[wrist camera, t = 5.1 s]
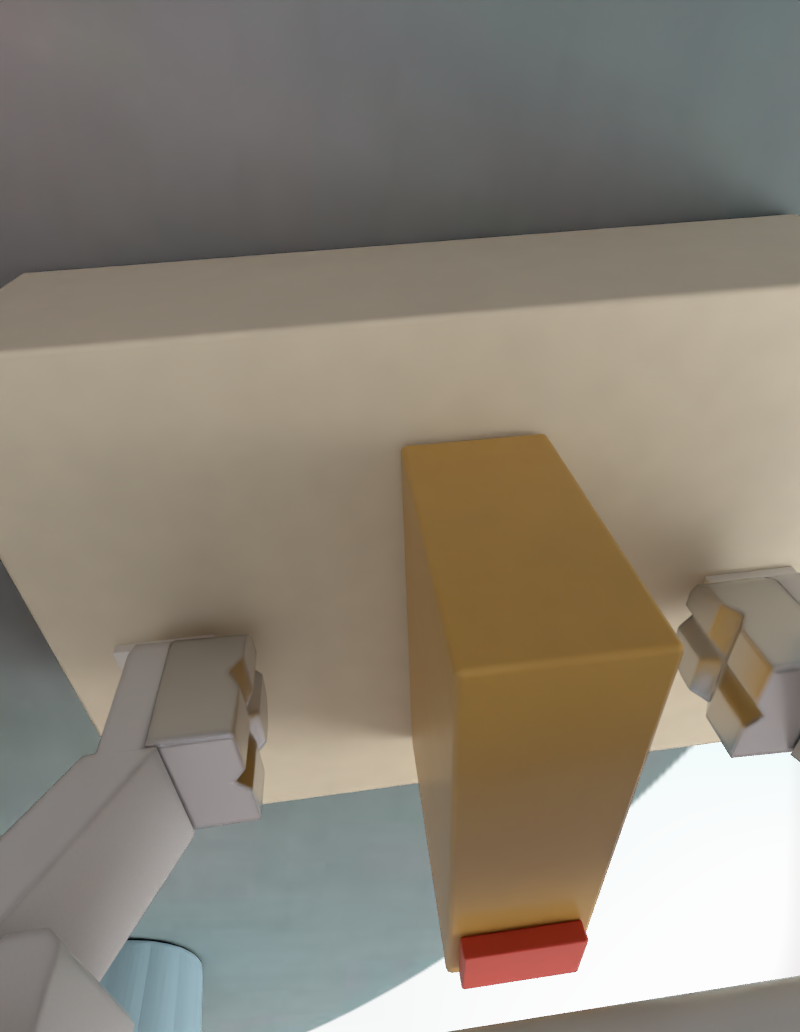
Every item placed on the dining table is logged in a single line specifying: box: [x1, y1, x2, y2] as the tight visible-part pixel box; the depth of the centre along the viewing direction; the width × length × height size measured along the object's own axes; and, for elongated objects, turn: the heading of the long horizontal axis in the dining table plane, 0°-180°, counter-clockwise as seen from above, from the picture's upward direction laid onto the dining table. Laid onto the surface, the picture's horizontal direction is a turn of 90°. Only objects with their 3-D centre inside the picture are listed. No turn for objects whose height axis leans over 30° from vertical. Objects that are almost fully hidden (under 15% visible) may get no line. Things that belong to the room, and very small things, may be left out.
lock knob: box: [401, 434, 684, 989], centre depth 8 cm, size 6×2×4 cm, turn 2°
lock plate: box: [0, 214, 800, 804], centre depth 11 cm, size 12×9×4 cm
